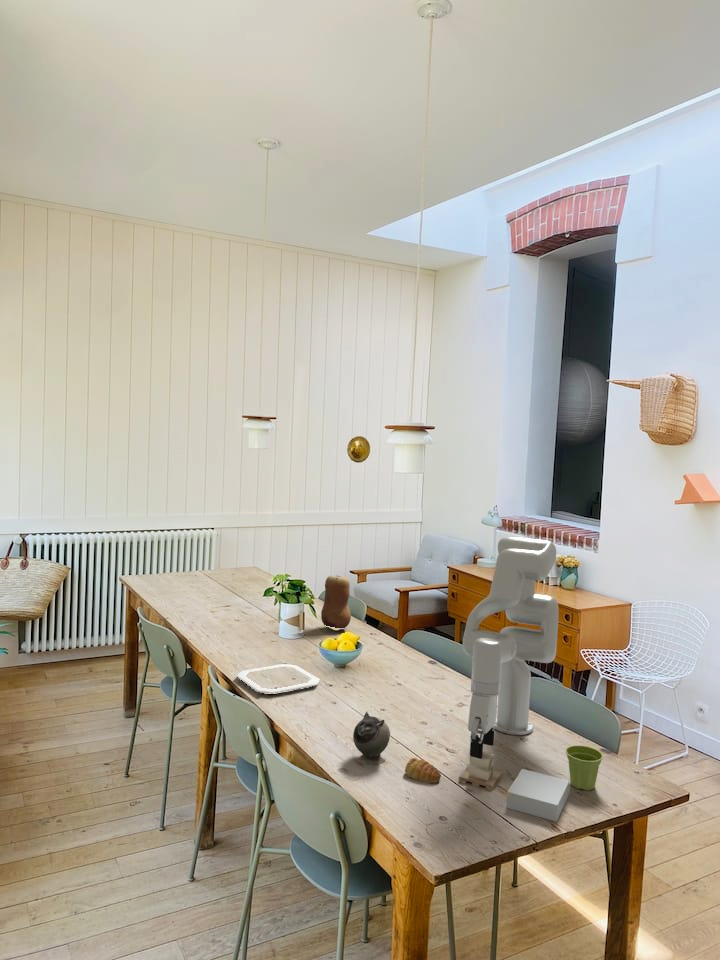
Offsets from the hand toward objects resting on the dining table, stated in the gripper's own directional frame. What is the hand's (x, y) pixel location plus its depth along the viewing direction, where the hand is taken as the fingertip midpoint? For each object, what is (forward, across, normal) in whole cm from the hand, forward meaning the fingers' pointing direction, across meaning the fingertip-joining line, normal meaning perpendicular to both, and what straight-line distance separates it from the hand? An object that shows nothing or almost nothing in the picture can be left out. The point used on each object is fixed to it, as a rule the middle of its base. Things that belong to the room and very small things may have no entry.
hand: (481, 750), depth 186 cm
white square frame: (+7, -32, -85) cm, 91 cm away
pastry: (+8, +6, -14) cm, 17 cm away
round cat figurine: (+8, +4, -30) cm, 31 cm away
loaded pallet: (+8, -1, 0) cm, 8 cm away
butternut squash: (+5, -104, -102) cm, 146 cm away
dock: (+8, +3, +16) cm, 18 cm away
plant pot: (+8, -12, +24) cm, 28 cm away
